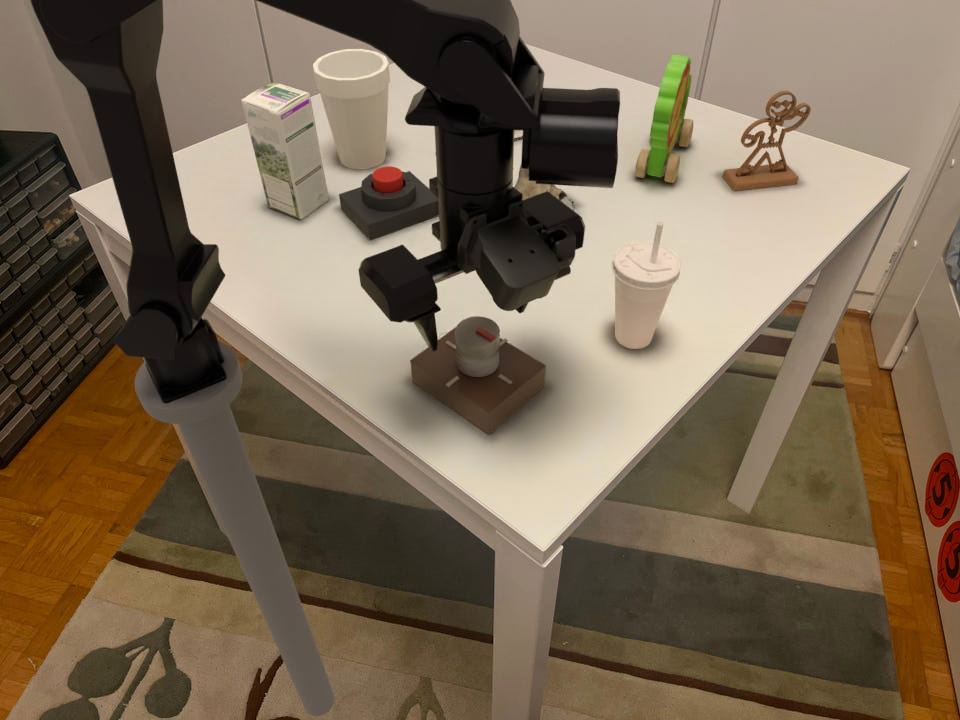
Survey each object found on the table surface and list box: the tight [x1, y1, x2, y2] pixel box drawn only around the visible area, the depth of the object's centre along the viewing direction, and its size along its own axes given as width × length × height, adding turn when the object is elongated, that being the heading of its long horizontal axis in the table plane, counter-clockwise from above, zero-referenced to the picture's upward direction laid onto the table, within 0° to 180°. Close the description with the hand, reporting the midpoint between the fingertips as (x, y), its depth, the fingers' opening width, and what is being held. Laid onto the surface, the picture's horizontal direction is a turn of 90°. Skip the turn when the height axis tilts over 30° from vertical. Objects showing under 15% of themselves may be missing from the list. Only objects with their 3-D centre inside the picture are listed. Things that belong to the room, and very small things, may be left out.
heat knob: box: [455, 315, 501, 377], centre depth 68 cm, size 4×4×4 cm
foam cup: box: [312, 48, 391, 170], centre depth 98 cm, size 10×9×13 cm
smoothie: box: [611, 221, 682, 350], centre depth 72 cm, size 6×6×14 cm
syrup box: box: [240, 81, 330, 220], centre depth 90 cm, size 6×6×14 cm
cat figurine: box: [513, 165, 575, 212], centre depth 91 cm, size 10×12×6 cm
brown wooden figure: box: [722, 90, 811, 192], centre depth 94 cm, size 9×4×12 cm, turn 101°
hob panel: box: [409, 326, 547, 435], centre depth 71 cm, size 10×8×3 cm
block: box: [338, 170, 439, 241], centre depth 92 cm, size 10×8×4 cm
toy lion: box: [634, 54, 694, 184], centre depth 96 cm, size 16×5×15 cm, turn 158°
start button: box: [371, 165, 403, 193], centre depth 90 cm, size 4×4×2 cm
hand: (476, 328), depth 67 cm, fingers open, 9 cm apart
